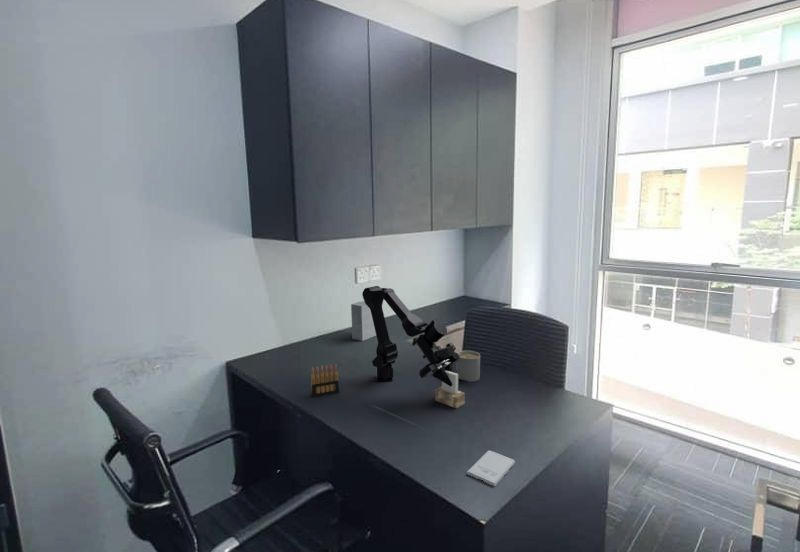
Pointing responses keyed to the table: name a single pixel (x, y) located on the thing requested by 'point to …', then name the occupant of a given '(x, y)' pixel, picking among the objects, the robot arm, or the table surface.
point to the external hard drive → (491, 467)
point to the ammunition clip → (324, 381)
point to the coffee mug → (468, 366)
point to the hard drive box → (362, 322)
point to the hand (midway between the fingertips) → (453, 384)
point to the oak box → (450, 398)
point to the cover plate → (454, 381)
